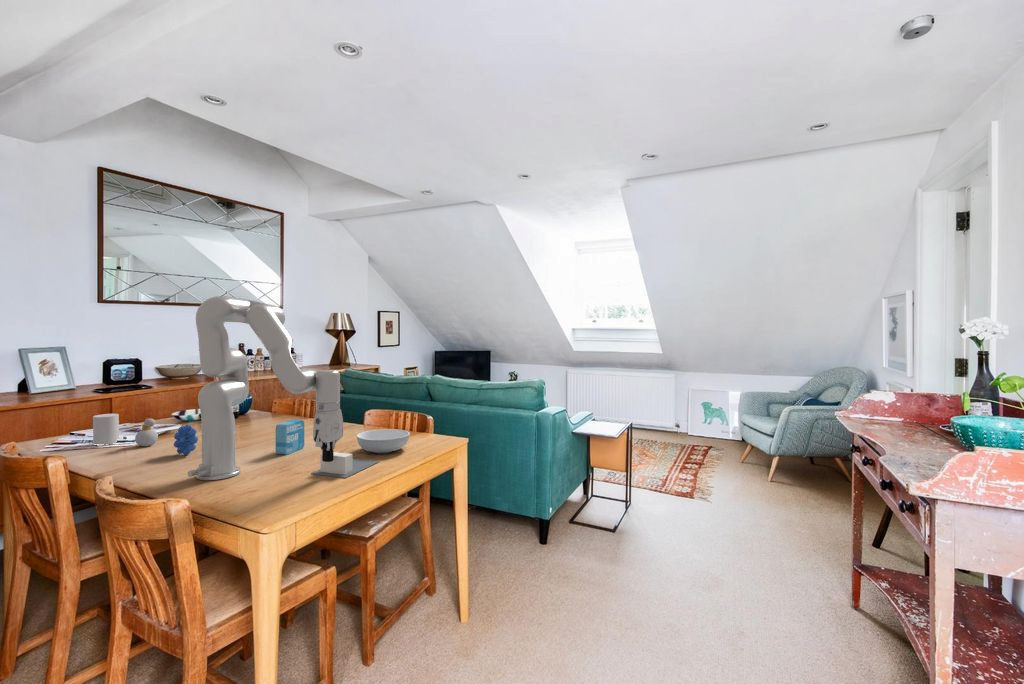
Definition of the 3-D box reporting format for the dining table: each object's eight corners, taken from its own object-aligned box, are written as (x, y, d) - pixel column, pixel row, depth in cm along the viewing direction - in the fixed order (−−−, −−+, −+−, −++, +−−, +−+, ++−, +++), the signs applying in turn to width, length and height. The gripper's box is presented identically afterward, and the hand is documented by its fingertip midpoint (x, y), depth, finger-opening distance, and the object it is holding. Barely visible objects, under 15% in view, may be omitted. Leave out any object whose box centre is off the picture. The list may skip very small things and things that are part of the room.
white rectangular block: (345, 474, 157) (345, 457, 157) (320, 471, 160) (320, 454, 160) (352, 471, 161) (352, 453, 161) (328, 468, 164) (328, 451, 164)
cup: (122, 443, 196) (121, 415, 196) (97, 447, 189) (97, 418, 189) (114, 440, 200) (114, 412, 200) (90, 444, 193) (89, 415, 193)
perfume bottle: (149, 443, 197) (148, 414, 196) (166, 444, 194) (166, 416, 194) (130, 447, 190) (130, 418, 189) (148, 449, 187) (148, 419, 187)
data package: (285, 455, 180) (285, 425, 180) (275, 455, 181) (275, 424, 181) (304, 448, 192) (304, 419, 192) (294, 447, 193) (294, 418, 193)
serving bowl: (420, 448, 194) (420, 432, 193) (382, 460, 176) (382, 442, 175) (384, 441, 204) (384, 426, 204) (345, 452, 186) (345, 435, 186)
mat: (345, 478, 154) (345, 477, 154) (310, 473, 158) (310, 473, 158) (379, 462, 173) (379, 461, 173) (347, 458, 177) (347, 457, 177)
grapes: (207, 453, 181) (207, 423, 181) (190, 458, 175) (190, 426, 175) (186, 450, 185) (185, 421, 185) (168, 455, 179) (168, 424, 178)
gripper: (321, 411, 147) (321, 468, 148) (351, 404, 161) (351, 456, 162) (302, 409, 149) (302, 466, 150) (333, 402, 164) (333, 454, 164)
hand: (327, 461), depth 156 cm, fingers closed
